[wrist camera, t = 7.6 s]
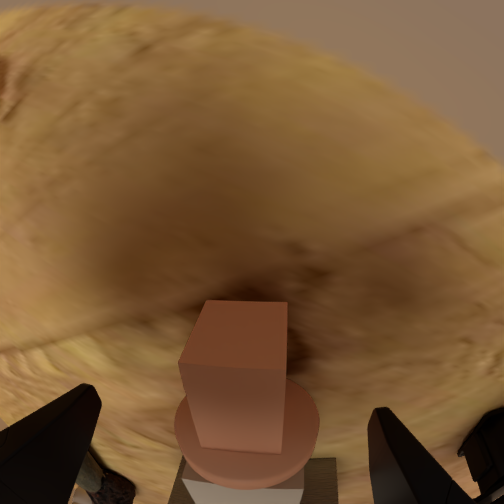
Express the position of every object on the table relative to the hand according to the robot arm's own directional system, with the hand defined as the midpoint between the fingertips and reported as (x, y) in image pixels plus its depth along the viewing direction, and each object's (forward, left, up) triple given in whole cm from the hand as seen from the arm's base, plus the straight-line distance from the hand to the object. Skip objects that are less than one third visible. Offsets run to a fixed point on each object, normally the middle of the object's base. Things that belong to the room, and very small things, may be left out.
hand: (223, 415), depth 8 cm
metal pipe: (+18, +25, -7) cm, 32 cm away
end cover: (0, +6, -6) cm, 9 cm away
